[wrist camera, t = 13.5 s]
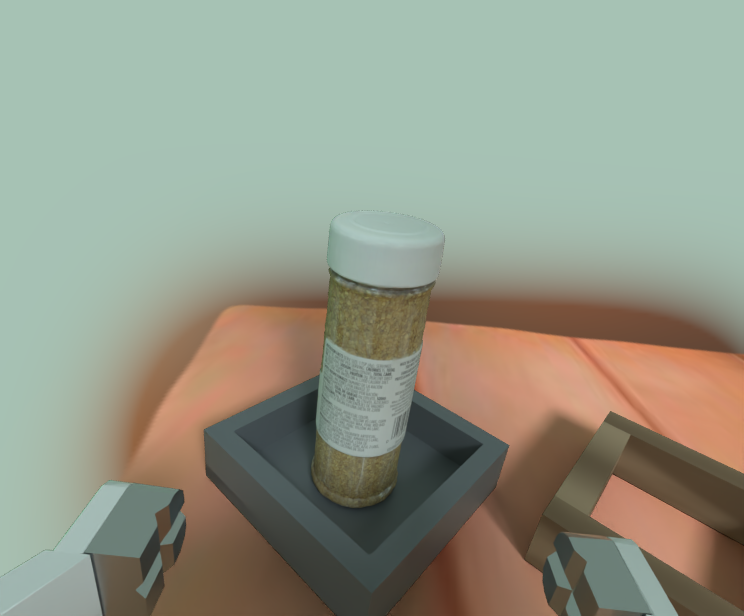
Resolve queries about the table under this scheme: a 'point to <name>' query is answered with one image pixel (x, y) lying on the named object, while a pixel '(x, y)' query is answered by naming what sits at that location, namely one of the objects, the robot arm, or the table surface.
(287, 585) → the table surface
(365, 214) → the sprinkles bottle
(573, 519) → the socket block
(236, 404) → the table surface
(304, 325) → the table surface
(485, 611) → the table surface
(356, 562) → the tray
